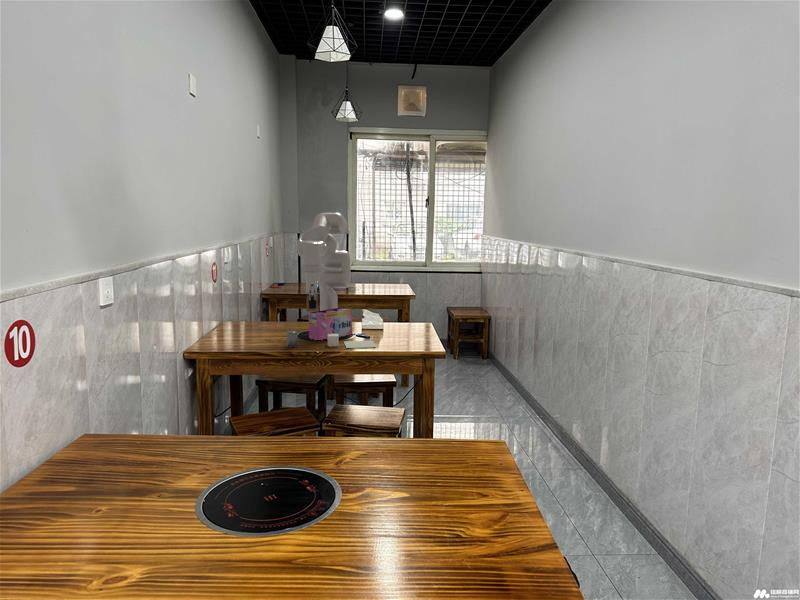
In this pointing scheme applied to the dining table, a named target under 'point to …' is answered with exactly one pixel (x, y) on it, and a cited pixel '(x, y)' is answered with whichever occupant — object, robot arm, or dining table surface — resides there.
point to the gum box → (330, 323)
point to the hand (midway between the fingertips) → (312, 307)
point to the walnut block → (316, 303)
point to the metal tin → (292, 338)
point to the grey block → (333, 339)
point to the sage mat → (359, 344)
